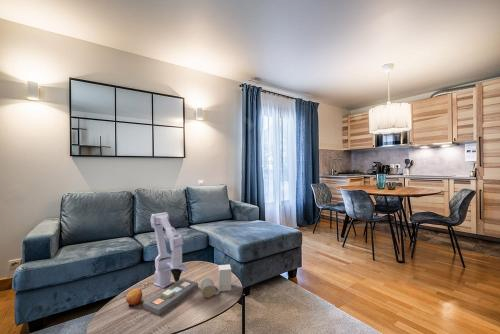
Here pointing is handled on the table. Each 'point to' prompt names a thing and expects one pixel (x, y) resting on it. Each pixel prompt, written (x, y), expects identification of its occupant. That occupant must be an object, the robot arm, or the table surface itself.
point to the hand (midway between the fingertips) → (176, 280)
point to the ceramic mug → (208, 288)
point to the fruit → (134, 296)
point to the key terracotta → (158, 301)
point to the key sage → (168, 294)
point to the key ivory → (185, 284)
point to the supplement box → (224, 277)
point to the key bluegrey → (177, 289)
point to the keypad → (172, 300)
